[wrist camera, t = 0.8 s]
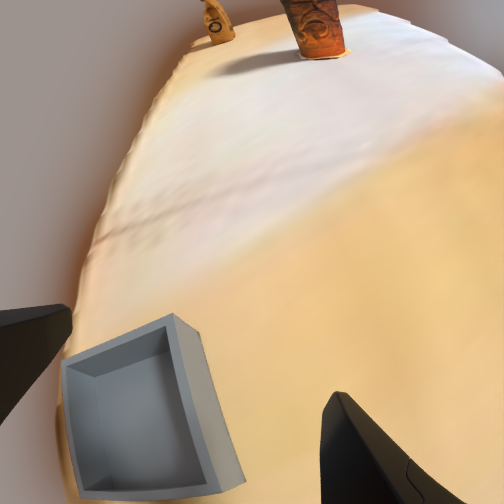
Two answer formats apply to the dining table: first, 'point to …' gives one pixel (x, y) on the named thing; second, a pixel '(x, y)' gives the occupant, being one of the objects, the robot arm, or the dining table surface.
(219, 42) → the coffee package
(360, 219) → the dining table surface
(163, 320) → the box
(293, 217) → the dining table surface
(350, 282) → the dining table surface
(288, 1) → the vessel
